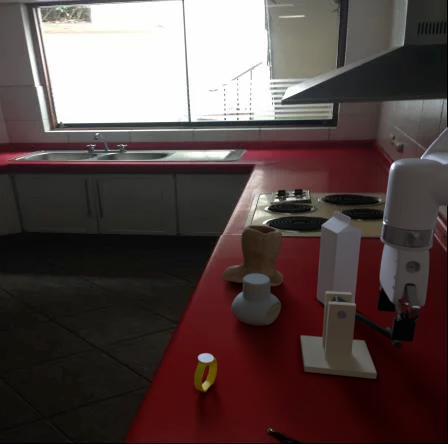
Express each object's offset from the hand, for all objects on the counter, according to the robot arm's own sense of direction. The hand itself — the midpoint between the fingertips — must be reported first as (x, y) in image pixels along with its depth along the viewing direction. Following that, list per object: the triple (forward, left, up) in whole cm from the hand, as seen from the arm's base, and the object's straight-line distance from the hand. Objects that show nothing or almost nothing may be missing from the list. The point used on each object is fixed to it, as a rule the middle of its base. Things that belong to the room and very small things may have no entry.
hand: (393, 324), depth 74 cm
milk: (+6, -22, -8) cm, 24 cm away
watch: (+32, +12, -8) cm, 35 cm away
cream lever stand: (+9, 0, -8) cm, 12 cm away
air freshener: (+24, -12, -8) cm, 28 cm away
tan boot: (+25, -32, -8) cm, 42 cm away
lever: (+5, 0, -1) cm, 5 cm away
